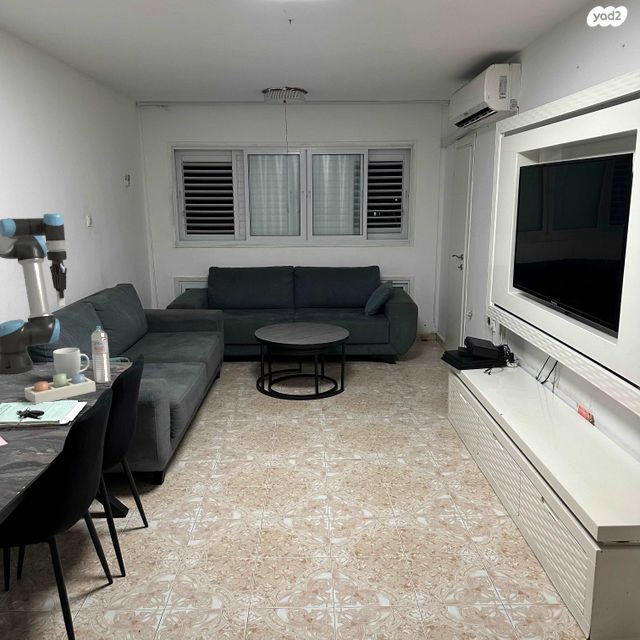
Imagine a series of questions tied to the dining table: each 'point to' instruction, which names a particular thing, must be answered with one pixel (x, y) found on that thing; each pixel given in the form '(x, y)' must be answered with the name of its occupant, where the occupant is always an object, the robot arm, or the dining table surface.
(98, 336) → the water bottle
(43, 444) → the dining table surface
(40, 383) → the button terracotta
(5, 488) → the dining table surface
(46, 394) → the cream button tray
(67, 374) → the mug
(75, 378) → the button blue
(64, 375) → the button sage
